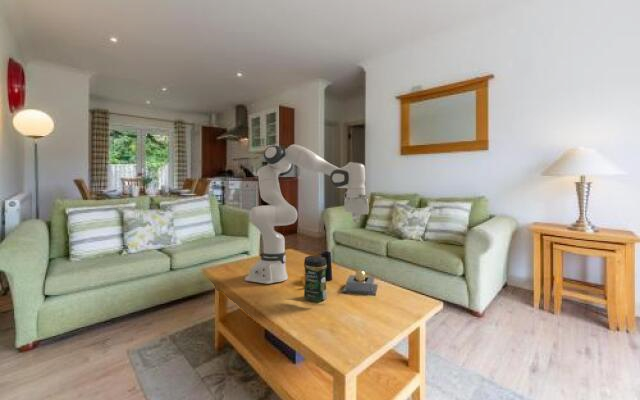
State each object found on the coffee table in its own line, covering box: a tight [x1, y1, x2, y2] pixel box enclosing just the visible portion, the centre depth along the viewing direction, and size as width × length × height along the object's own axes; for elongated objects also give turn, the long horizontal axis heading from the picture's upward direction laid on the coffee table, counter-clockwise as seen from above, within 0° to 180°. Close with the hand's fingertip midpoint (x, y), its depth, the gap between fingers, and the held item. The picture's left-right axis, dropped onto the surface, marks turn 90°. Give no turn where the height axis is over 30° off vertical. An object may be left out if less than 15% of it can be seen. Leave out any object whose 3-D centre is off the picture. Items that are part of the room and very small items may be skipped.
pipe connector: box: [320, 250, 333, 282], centre depth 148 cm, size 12×5×15 cm, turn 120°
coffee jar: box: [303, 255, 328, 303], centre depth 124 cm, size 10×8×19 cm
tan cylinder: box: [355, 269, 366, 281], centre depth 135 cm, size 4×4×8 cm
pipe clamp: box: [300, 269, 305, 286], centre depth 143 cm, size 12×4×6 cm, turn 23°
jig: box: [342, 274, 378, 296], centre depth 136 cm, size 15×14×5 cm
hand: (356, 222), depth 142 cm, fingers closed
